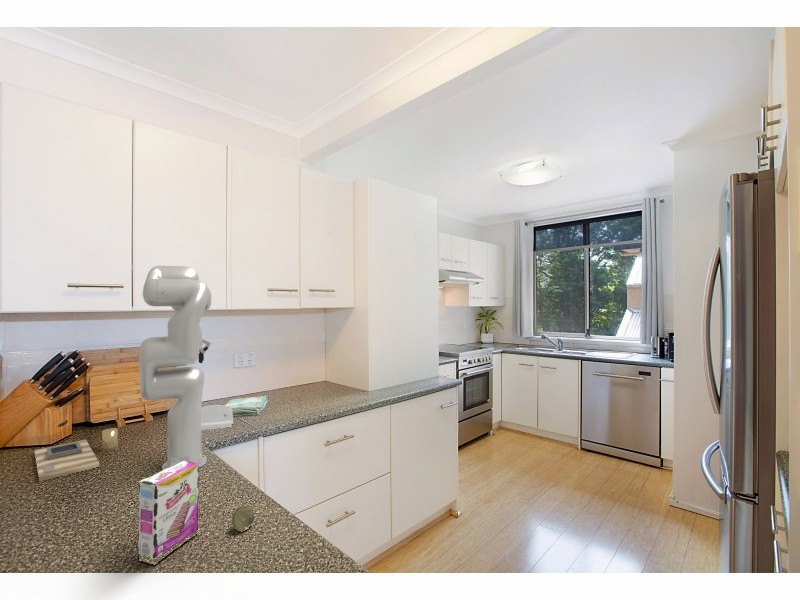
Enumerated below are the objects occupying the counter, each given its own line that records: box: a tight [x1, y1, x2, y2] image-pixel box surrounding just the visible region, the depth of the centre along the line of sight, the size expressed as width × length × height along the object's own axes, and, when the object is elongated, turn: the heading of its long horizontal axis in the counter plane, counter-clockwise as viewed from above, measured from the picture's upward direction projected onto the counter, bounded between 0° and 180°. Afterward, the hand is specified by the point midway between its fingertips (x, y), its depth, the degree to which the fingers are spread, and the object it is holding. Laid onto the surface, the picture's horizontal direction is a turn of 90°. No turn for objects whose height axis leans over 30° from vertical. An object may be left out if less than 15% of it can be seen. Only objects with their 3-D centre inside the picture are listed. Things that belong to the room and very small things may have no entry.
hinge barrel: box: [101, 427, 119, 452], centre depth 137 cm, size 4×4×7 cm
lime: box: [231, 505, 255, 532], centre depth 89 cm, size 4×5×5 cm
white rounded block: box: [201, 404, 234, 431], centre depth 162 cm, size 17×5×10 cm, turn 106°
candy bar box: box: [137, 461, 200, 558], centre depth 82 cm, size 11×5×16 cm, turn 163°
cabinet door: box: [33, 439, 100, 482], centre depth 128 cm, size 30×14×3 cm, turn 46°
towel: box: [224, 395, 269, 417], centre depth 186 cm, size 18×21×5 cm
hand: (187, 364), depth 159 cm, fingers open, 9 cm apart
